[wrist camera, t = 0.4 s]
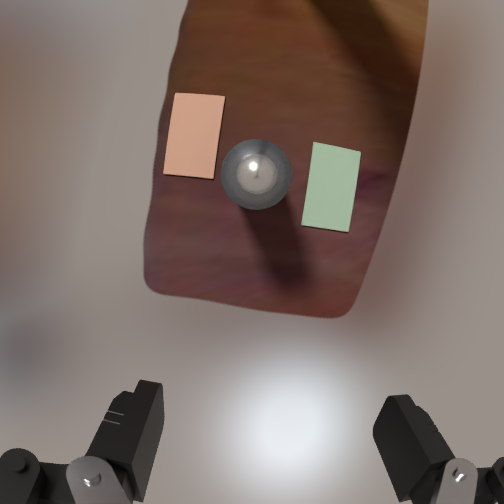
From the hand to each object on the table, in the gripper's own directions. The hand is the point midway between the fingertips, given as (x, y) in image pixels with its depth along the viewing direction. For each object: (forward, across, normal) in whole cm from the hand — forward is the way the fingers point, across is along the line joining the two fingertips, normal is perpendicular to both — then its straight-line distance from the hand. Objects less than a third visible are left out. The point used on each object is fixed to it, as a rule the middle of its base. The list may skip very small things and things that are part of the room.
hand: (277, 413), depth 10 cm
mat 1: (+29, +9, -11) cm, 32 cm away
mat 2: (+29, -8, -7) cm, 31 cm away
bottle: (+29, +1, -7) cm, 30 cm away
